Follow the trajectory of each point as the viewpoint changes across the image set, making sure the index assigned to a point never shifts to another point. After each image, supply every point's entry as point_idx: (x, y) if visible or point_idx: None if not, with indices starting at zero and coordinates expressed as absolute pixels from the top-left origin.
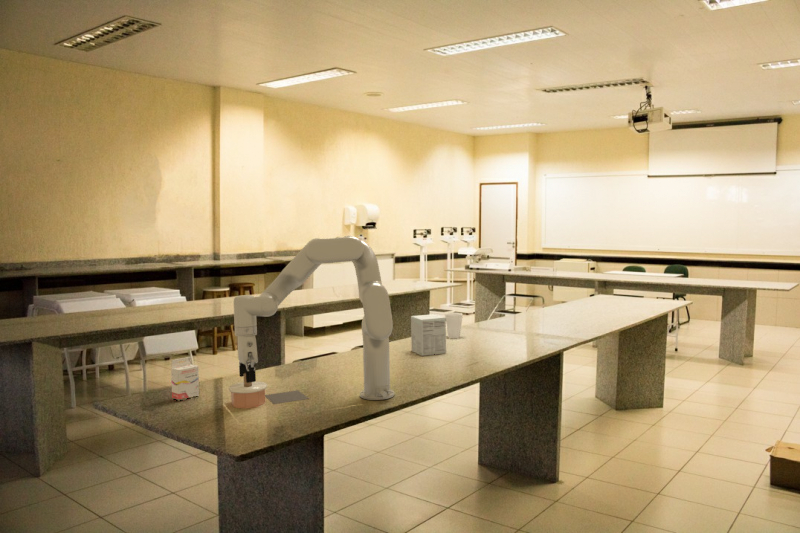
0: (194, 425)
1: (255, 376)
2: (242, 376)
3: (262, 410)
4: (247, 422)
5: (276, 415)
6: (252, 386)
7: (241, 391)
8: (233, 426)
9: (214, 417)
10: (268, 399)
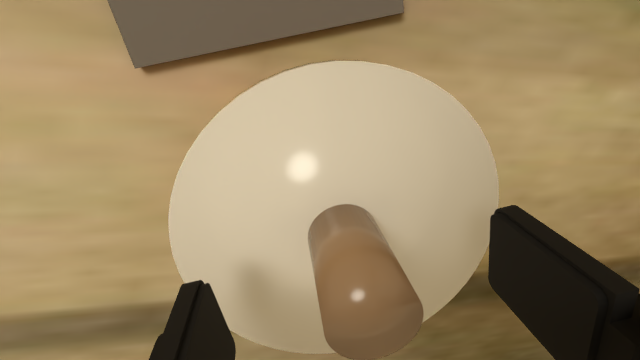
0: (516, 352)
1: (552, 232)
2: (224, 328)
3: (463, 96)
4: (610, 176)
5: (602, 18)
6: (377, 200)
7: (471, 270)
8: (620, 230)
9: (457, 305)
10: (266, 40)
